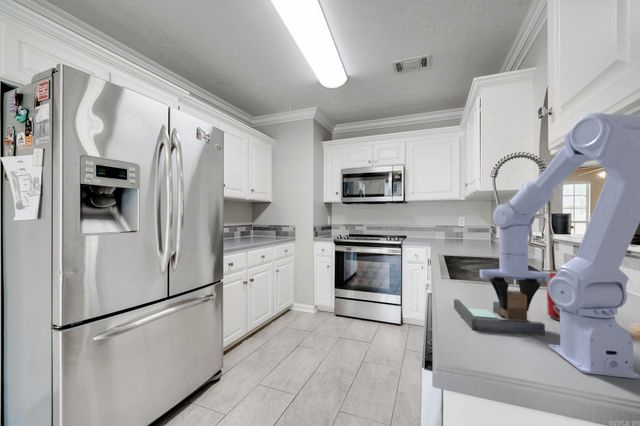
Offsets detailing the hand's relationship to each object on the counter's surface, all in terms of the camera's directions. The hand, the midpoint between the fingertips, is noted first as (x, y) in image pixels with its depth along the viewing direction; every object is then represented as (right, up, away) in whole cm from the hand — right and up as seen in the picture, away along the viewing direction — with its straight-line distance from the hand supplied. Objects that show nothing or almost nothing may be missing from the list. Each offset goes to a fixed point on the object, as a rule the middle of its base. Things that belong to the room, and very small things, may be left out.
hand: (513, 308), depth 65 cm
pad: (-4, -4, +7) cm, 9 cm away
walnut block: (0, -2, 0) cm, 2 cm away
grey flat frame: (-3, -4, +3) cm, 6 cm away
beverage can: (+15, -4, +3) cm, 16 cm away
